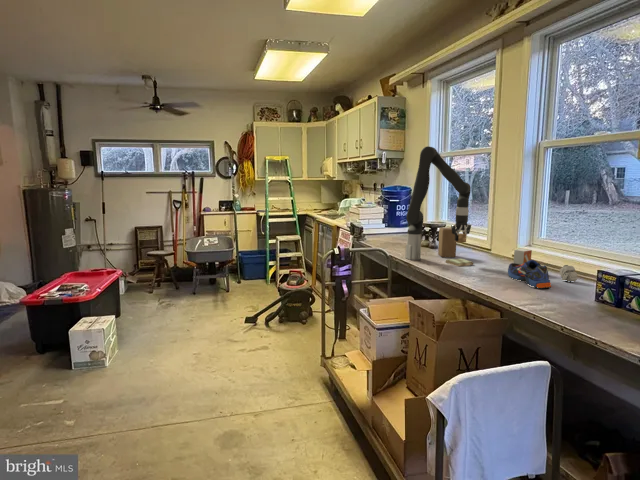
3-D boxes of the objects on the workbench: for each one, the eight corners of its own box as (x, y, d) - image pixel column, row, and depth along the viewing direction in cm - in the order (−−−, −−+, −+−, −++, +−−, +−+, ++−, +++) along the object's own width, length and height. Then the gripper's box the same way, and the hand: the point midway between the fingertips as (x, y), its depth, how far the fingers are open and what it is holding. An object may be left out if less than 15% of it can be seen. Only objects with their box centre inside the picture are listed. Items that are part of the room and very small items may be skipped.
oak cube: (459, 242, 261) (460, 234, 261) (454, 241, 266) (454, 233, 265) (466, 242, 263) (466, 234, 262) (460, 241, 268) (461, 233, 267)
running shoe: (521, 274, 238) (522, 253, 236) (560, 289, 207) (562, 265, 205) (501, 275, 237) (503, 253, 235) (537, 290, 205) (539, 265, 203)
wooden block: (456, 257, 287) (457, 229, 284) (441, 257, 287) (442, 229, 284) (451, 255, 297) (453, 227, 294) (437, 254, 297) (439, 227, 294)
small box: (522, 273, 241) (524, 251, 239) (512, 271, 246) (514, 249, 244) (530, 271, 245) (532, 249, 243) (520, 269, 251) (521, 248, 249)
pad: (457, 266, 259) (457, 263, 259) (445, 262, 270) (445, 259, 270) (473, 265, 263) (473, 261, 263) (461, 261, 274) (461, 258, 274)
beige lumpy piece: (573, 284, 222) (566, 268, 228) (581, 279, 217) (573, 262, 222) (563, 285, 221) (556, 268, 227) (571, 279, 216) (564, 263, 221)
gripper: (456, 215, 256) (454, 242, 259) (475, 214, 261) (473, 241, 263) (448, 214, 263) (447, 240, 266) (467, 213, 268) (465, 239, 270)
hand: (460, 240), depth 265 cm, fingers closed on oak cube, 5 cm apart
